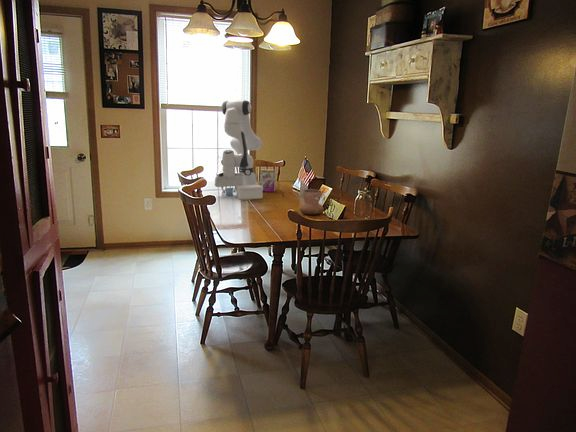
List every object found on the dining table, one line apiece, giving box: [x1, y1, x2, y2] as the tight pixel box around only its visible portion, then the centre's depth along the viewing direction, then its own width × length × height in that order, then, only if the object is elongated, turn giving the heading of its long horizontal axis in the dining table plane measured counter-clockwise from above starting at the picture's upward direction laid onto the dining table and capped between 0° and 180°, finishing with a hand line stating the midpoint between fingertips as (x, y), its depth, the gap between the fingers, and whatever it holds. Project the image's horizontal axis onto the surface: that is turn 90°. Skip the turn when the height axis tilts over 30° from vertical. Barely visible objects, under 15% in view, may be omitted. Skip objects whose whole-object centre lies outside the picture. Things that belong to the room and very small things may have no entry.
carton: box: [235, 187, 263, 201], centre depth 308 cm, size 12×16×7 cm
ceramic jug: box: [299, 188, 325, 216], centre depth 266 cm, size 18×14×14 cm
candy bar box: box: [259, 168, 276, 193], centre depth 330 cm, size 11×5×16 cm, turn 84°
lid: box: [236, 184, 263, 191], centre depth 307 cm, size 13×17×2 cm
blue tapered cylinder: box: [225, 186, 234, 197], centre depth 317 cm, size 5×5×5 cm
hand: (229, 192), depth 317 cm, fingers open, 6 cm apart
